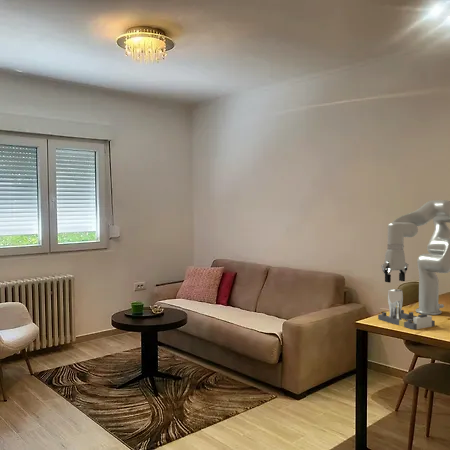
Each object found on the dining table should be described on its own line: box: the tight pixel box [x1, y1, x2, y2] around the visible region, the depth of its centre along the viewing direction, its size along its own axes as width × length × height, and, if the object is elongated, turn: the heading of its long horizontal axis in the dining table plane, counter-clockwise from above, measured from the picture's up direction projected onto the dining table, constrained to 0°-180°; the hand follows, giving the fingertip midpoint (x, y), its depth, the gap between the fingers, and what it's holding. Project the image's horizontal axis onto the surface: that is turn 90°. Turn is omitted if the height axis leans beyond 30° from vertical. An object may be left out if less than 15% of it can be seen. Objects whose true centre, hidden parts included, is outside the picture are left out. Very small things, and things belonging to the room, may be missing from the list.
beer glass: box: [387, 288, 404, 320], centre depth 226 cm, size 7×7×15 cm
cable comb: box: [377, 309, 436, 331], centre depth 220 cm, size 14×22×6 cm, turn 26°
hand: (394, 281), depth 225 cm, fingers open, 9 cm apart
